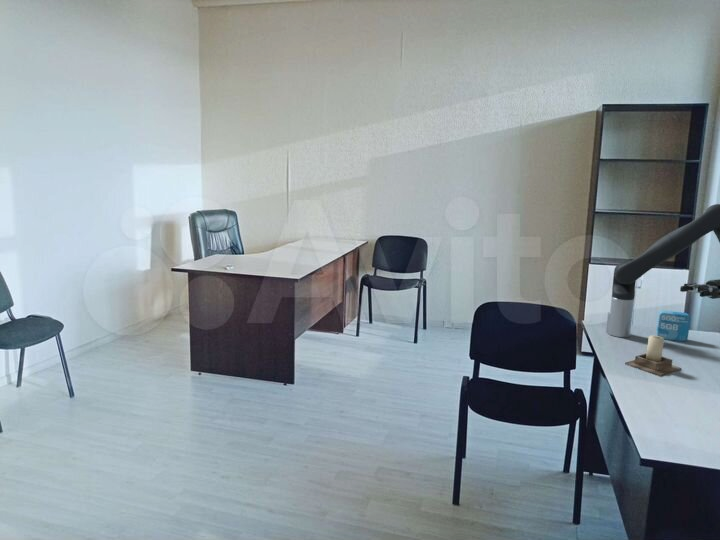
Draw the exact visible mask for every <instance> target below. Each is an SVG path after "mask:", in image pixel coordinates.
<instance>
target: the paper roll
mask: <svg viewBox="0 0 720 540" xmlns="http://www.w3.org/2000/svg"><path fill="white" fill-rule="evenodd" d="M647 339H648V341H647V348H646V353H647V354H646V353H645V354H646V359H648V360H651V361H654V362H657V363H659V362H661V357H662V356H663V351H664V350H663V349H664V344H665V343H664V342H665V339H664V338H663V337H660V336H657V335H648V338H647Z"/></svg>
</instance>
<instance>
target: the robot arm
mask: <svg viewBox="0 0 720 540" xmlns="http://www.w3.org/2000/svg"><path fill="white" fill-rule="evenodd" d="M711 232H713V233H714V235H715V237H716V238H717V241H718V242H719V243H720V203H716V204H712V205H711V206H708V207H707V208H706V210H705V212H703V213H701V215H700V216H698V217H697V218H696V219H694V220H692V221H691V222H689V223H687V224H684V225H682V226H681V227H680V226H679V227H678V228H676V229H674V230H672V231H671V232H669V233H667V234H666V235H664V236H662V237H661V238H659V239H658V240H657V241H655V242H653V244H651V246H649V247H648V248H647V249H646V250H645V251H644V252H643V253H642V254H640V255H639V256H637V257H636V258H633V259H632V260H630V261H621V262H618V263H617V264H616V266H615V267H614V270H613V278H612V285H611V286H612V287H611V289H612V290H611V299H610V301H611V302H610V310H609V312H608V313H607V320H606V327H605V328H606V329H605V332H606V333H607V334H608V335H610V336H613V337H617V338H629V337H630V336H631V329H632V321H633V314H634V313H633V312H634V306H635V305H634V303H635V297H636V284H637V283H636V281H637V280H639V279H640V278H641V277H642V276H643V275H645V274H646V273H648V272H649V271H650V270H652V269H654V268H655V267H657V266H659V265H661V264H663V263H665V262H667V261H668V260H669V259H672V258H674V257H676V255H677V256H678V254H680V253H681V252H683V251H685V250H686V249H687V248H689V247H691V245H693V244H694V243H696V242H697V241H699V240H700V239H701V238H702V237H704V236H705V235H708V234H709V233H711ZM679 290H680V292H683V293H684V292H692V293H693V294H699V297H703V298H705V297H708V298H709V299H712V300H714V299H715V300H717V299H720V278H719V279H710V280H708V281H706V282H705V283H701V284H700V283H699V284H698V283H697V282H692V283H684V284H683V285H681V286H680V289H679Z"/></svg>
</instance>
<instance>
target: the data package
mask: <svg viewBox="0 0 720 540" xmlns="http://www.w3.org/2000/svg"><path fill="white" fill-rule="evenodd" d="M690 325H691V316H690V315H689V313H687V312H681V311H670V310H660V311H659V312H658V316H657V325H656V336H660V337H663V338H664V340H670V341H676V342H677V341H678V342H686V341H688V339H689V331H690Z"/></svg>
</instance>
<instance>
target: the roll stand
mask: <svg viewBox="0 0 720 540" xmlns="http://www.w3.org/2000/svg"><path fill="white" fill-rule="evenodd" d="M646 354H647V352H646V353H642V354H638V355H636V356H635V358H634V360H631V361H626V362H624V364H625V365H626V364H627V365H626V366H629V365H630V366H629V367H632V368H635V369H637V368H638V370H640V371H643V372H647V373H648V374H651V373H652V375H654V374H655V376H657V375H658V377H661V376H665V375H668V374H671V373H675V372H678V371H681V370H682V367H680V366H676V365H673V359H671V358H669V357H665V356H663V355H662V357H661V362H659V363H657V362H654V361H651V360H648V359H646Z"/></svg>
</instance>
